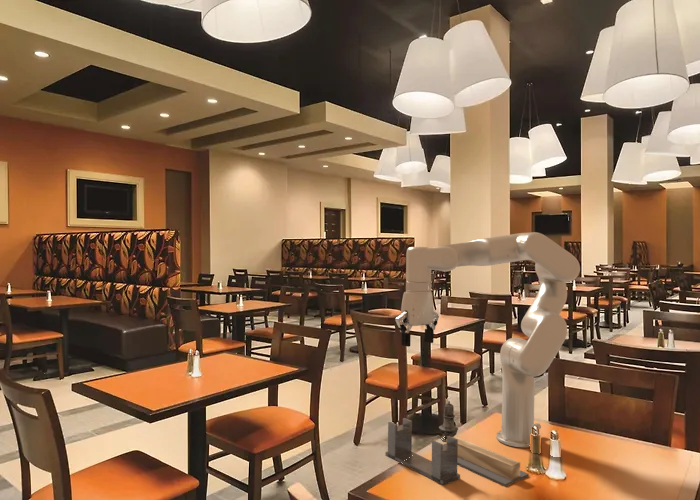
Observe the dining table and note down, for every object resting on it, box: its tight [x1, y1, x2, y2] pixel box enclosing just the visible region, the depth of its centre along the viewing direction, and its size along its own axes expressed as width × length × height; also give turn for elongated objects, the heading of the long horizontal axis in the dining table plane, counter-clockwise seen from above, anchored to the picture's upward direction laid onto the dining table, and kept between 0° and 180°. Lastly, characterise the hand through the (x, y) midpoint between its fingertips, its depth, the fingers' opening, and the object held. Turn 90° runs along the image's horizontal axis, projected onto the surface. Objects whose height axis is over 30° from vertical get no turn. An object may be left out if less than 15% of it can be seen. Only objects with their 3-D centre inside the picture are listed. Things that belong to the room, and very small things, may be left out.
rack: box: [384, 417, 461, 486], centre depth 136 cm, size 6×22×10 cm, turn 37°
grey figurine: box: [438, 400, 459, 443], centre depth 156 cm, size 6×6×12 cm
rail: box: [445, 435, 521, 480], centre depth 138 cm, size 4×22×4 cm, turn 37°
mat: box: [457, 457, 530, 487], centre depth 138 cm, size 10×23×1 cm, turn 37°
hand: (417, 344), depth 152 cm, fingers open, 9 cm apart
